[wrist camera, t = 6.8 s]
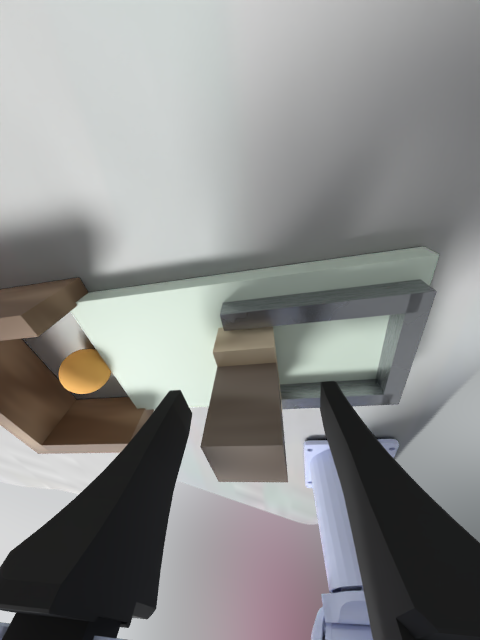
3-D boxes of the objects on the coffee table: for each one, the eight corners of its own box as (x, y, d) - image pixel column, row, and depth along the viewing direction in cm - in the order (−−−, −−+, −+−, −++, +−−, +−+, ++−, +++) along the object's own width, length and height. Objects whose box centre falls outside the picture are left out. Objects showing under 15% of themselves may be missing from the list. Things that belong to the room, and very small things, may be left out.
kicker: (279, 384, 15) (289, 491, 10) (235, 386, 16) (223, 490, 11) (272, 322, 12) (281, 429, 7) (218, 327, 13) (192, 431, 8)
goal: (156, 404, 20) (135, 452, 17) (72, 408, 21) (38, 453, 18) (79, 277, 13) (20, 315, 10) (-36, 294, 15) (-121, 333, 11)
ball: (127, 372, 17) (95, 407, 15) (99, 367, 18) (65, 398, 16) (108, 342, 16) (68, 375, 13) (78, 338, 17) (37, 368, 14)
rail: (389, 388, 15) (398, 404, 14) (246, 395, 17) (245, 410, 16) (420, 279, 11) (436, 291, 10) (222, 302, 12) (219, 314, 11)
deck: (386, 384, 17) (394, 398, 16) (144, 397, 20) (138, 410, 19) (423, 246, 11) (439, 254, 10) (78, 293, 14) (64, 304, 13)
